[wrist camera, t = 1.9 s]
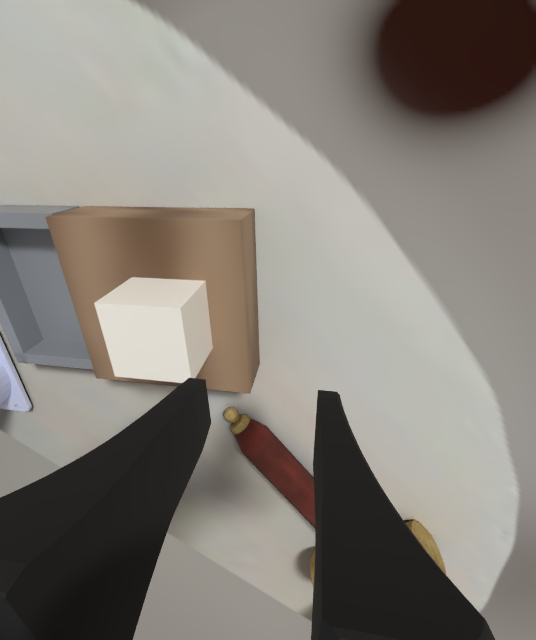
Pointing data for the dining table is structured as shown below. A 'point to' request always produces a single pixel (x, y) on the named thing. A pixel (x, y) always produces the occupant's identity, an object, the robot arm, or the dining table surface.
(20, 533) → the robot arm
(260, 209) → the dining table surface
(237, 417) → the gavel
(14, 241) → the tray
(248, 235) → the board
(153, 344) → the tile block
